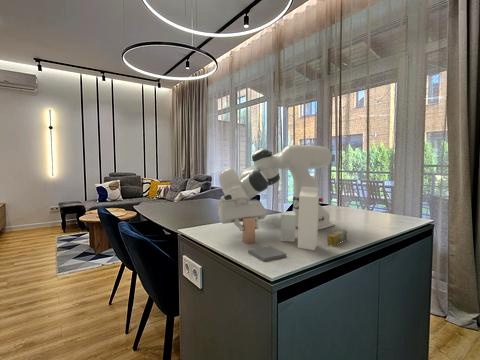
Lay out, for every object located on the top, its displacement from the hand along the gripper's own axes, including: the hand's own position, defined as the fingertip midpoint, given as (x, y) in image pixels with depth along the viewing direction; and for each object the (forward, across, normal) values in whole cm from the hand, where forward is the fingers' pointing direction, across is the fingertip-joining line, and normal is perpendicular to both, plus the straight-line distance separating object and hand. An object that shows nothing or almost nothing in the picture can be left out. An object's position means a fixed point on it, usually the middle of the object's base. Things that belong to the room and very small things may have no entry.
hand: (249, 229), depth 100 cm
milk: (+14, -16, +7) cm, 22 cm away
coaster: (+14, +2, +7) cm, 15 cm away
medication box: (+15, -30, +7) cm, 35 cm away
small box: (+6, -16, -1) cm, 17 cm away
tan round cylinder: (+3, 0, -4) cm, 5 cm away
